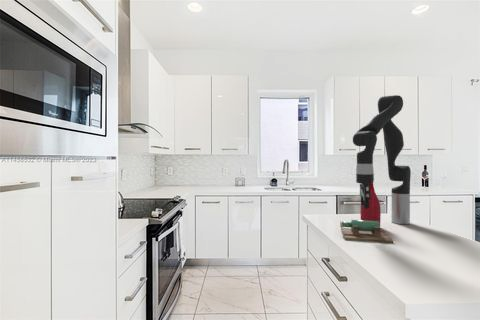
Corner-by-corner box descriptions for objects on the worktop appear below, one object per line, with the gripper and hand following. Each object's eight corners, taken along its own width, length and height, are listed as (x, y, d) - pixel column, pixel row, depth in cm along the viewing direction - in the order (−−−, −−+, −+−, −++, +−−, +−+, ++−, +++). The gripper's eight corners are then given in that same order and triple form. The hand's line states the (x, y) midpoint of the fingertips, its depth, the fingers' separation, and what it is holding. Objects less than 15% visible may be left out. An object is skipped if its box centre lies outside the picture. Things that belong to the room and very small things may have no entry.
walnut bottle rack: (341, 230, 142) (341, 219, 142) (383, 232, 137) (383, 221, 137) (344, 239, 125) (344, 227, 125) (393, 243, 120) (393, 230, 120)
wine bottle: (384, 229, 144) (384, 172, 144) (365, 229, 144) (365, 172, 144) (375, 225, 153) (375, 171, 153) (357, 224, 154) (357, 171, 154)
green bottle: (377, 230, 132) (377, 220, 132) (380, 233, 127) (380, 222, 127) (340, 228, 136) (340, 218, 136) (341, 230, 131) (341, 220, 131)
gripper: (376, 174, 123) (376, 210, 123) (370, 172, 137) (370, 204, 137) (358, 174, 125) (358, 209, 125) (354, 172, 139) (354, 204, 139)
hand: (364, 206), depth 131 cm, fingers open, 8 cm apart
